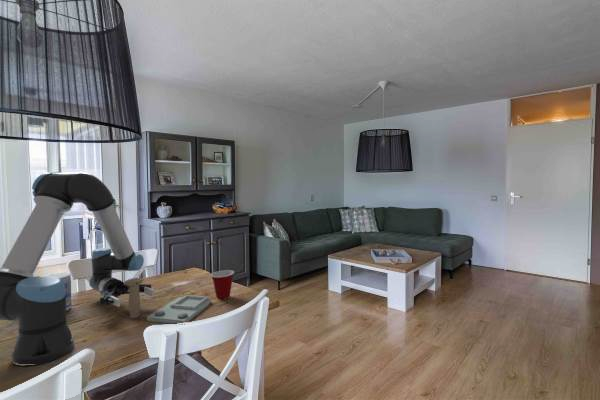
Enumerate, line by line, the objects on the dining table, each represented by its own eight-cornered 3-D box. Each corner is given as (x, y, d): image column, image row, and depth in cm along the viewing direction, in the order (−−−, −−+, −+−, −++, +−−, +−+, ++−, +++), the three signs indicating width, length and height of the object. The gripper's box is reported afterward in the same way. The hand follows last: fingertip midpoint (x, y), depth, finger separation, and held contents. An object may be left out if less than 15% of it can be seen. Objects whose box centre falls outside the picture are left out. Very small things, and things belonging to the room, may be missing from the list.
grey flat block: (184, 324, 119) (184, 317, 119) (146, 320, 123) (146, 313, 122) (211, 302, 141) (211, 296, 141) (179, 300, 144) (179, 294, 144)
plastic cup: (217, 292, 154) (217, 268, 153) (238, 294, 152) (237, 270, 151) (206, 301, 143) (205, 275, 143) (228, 303, 141) (228, 276, 140)
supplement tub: (61, 315, 127) (59, 279, 126) (36, 315, 127) (35, 279, 126) (77, 305, 137) (76, 272, 136) (54, 305, 137) (53, 272, 136)
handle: (145, 315, 127) (145, 279, 126) (129, 321, 122) (128, 283, 121) (140, 312, 130) (139, 277, 129) (123, 318, 125) (122, 280, 124)
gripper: (140, 288, 148) (166, 298, 135) (79, 304, 128) (102, 317, 115) (140, 272, 147) (165, 280, 135) (79, 286, 127) (102, 297, 115)
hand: (136, 297), depth 125 cm, fingers open, 13 cm apart
